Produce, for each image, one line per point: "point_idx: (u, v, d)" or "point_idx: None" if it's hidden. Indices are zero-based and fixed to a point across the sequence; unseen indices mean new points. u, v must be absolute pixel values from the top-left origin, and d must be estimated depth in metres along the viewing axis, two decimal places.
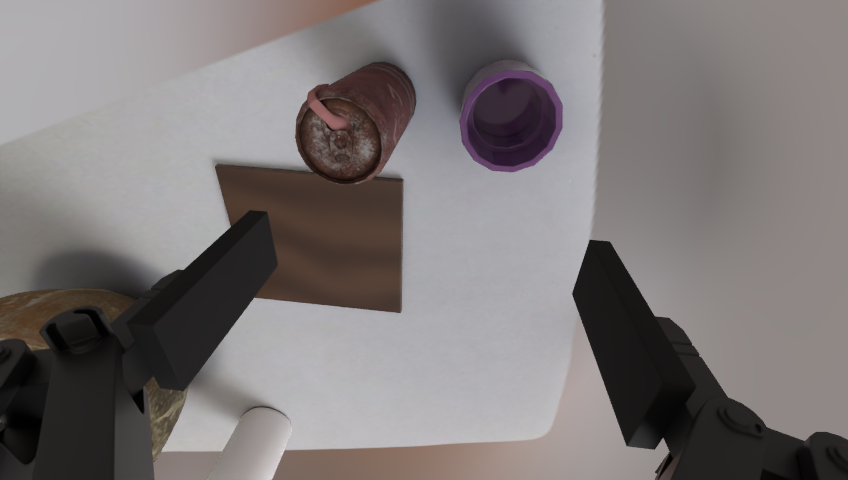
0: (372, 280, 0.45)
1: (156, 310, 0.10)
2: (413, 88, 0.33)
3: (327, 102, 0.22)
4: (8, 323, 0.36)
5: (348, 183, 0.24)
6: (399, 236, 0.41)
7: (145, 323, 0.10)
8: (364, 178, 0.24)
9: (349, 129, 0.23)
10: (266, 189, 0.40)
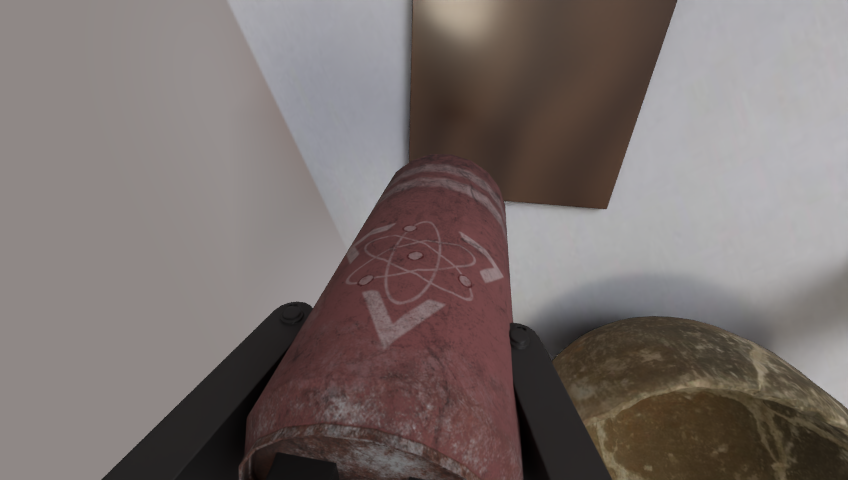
0: None
1: None
2: (422, 158, 0.17)
3: None
4: None
5: None
6: None
7: None
8: None
9: None
10: (434, 138, 0.32)
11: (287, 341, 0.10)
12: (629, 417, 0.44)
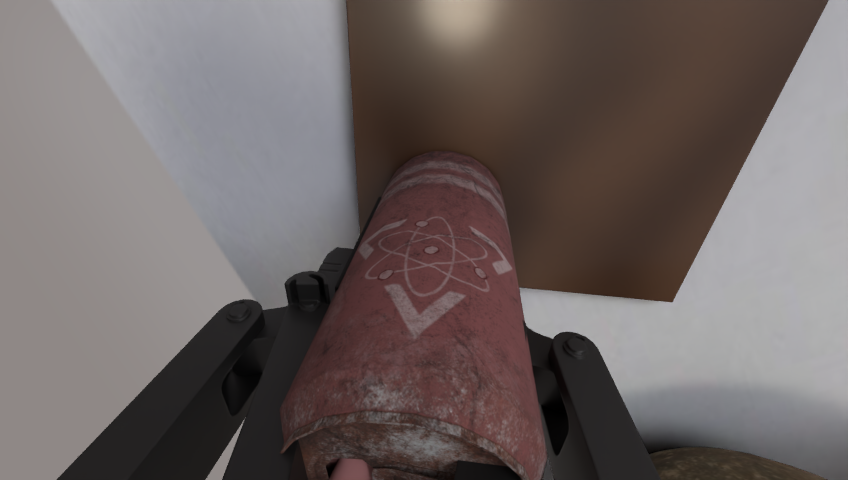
0: None
1: None
2: (423, 155, 0.17)
3: None
4: None
5: None
6: None
7: None
8: (520, 471, 0.07)
9: None
10: None
11: (235, 338, 0.10)
12: None
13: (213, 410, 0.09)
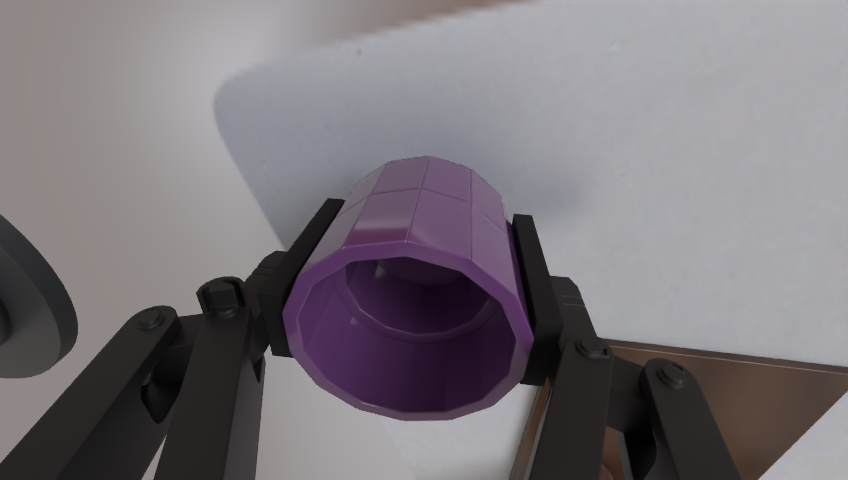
0: (748, 402, 0.25)
1: (279, 282, 0.11)
2: None
3: None
4: None
5: None
6: (662, 355, 0.23)
7: (273, 293, 0.11)
8: None
9: None
10: None
11: (150, 344, 0.09)
12: None
13: (134, 419, 0.09)
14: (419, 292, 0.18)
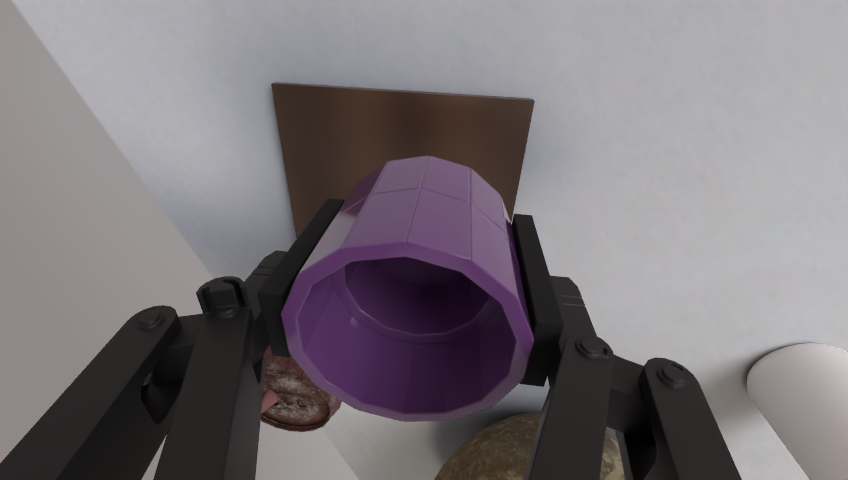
0: (457, 147, 0.27)
1: (279, 282, 0.11)
2: None
3: None
4: None
5: (328, 405, 0.21)
6: (364, 93, 0.26)
7: (273, 293, 0.11)
8: (320, 391, 0.21)
9: None
10: None
11: (150, 344, 0.09)
12: None
13: (134, 419, 0.09)
14: (419, 292, 0.18)
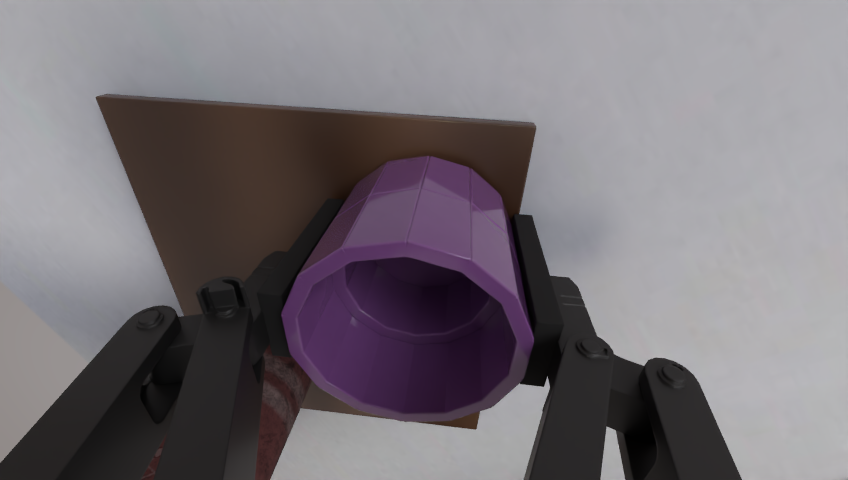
0: None
1: (279, 282, 0.11)
2: None
3: None
4: None
5: None
6: (249, 113, 0.15)
7: (272, 293, 0.11)
8: None
9: None
10: None
11: (150, 344, 0.09)
12: None
13: (134, 419, 0.09)
14: (419, 292, 0.18)
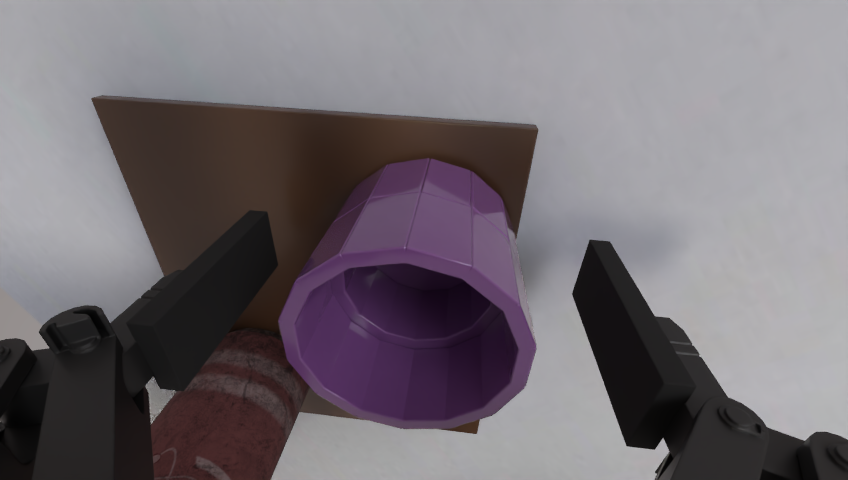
0: None
1: (156, 310, 0.10)
2: (230, 335, 0.21)
3: None
4: None
5: None
6: (246, 115, 0.15)
7: (145, 323, 0.10)
8: None
9: None
10: None
11: None
12: None
13: None
14: (419, 296, 0.17)
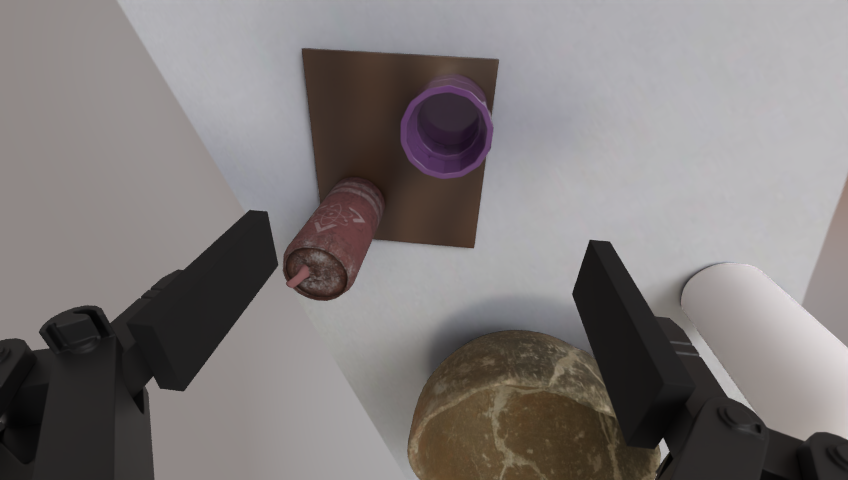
0: None
1: (156, 310, 0.10)
2: (345, 179, 0.40)
3: (290, 276, 0.31)
4: (411, 428, 0.42)
5: (346, 273, 0.30)
6: (372, 55, 0.34)
7: (145, 323, 0.10)
8: (341, 262, 0.29)
9: (307, 265, 0.30)
10: None
11: None
12: (518, 410, 0.54)
13: None
14: (445, 146, 0.36)
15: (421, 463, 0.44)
